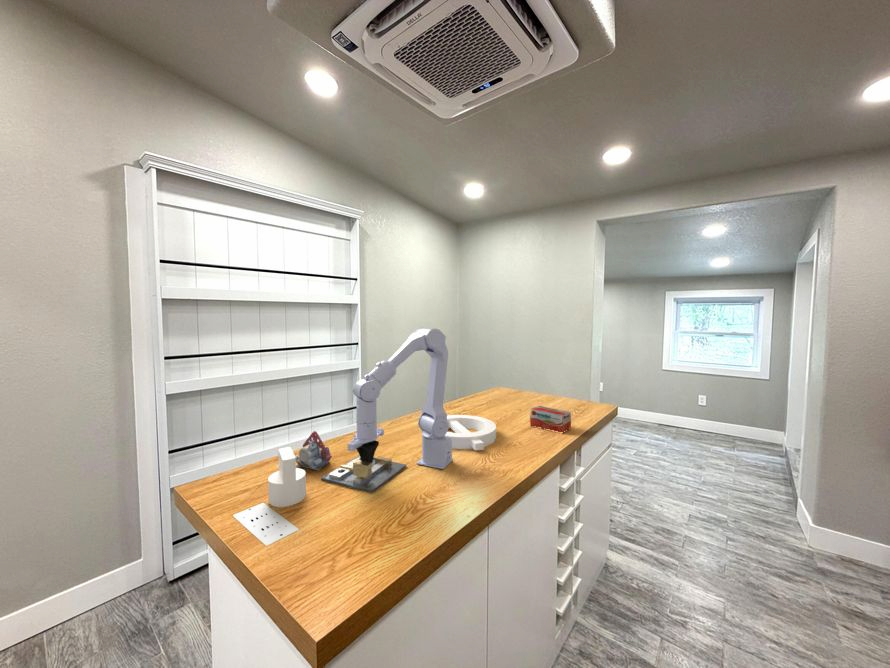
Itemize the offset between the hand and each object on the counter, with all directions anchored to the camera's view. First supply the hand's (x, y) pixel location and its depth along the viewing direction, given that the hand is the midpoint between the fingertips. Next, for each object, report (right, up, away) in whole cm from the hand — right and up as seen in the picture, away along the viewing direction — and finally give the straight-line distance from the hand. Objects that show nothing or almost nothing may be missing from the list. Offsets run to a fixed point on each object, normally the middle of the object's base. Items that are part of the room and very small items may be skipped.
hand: (367, 466), depth 101 cm
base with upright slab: (-19, -5, -10) cm, 22 cm away
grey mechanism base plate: (-1, -4, +4) cm, 6 cm away
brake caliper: (-19, -4, +10) cm, 22 cm away
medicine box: (+68, -2, +48) cm, 83 cm away
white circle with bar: (+29, -3, +38) cm, 48 cm away
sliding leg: (-3, -2, -1) cm, 4 cm away
